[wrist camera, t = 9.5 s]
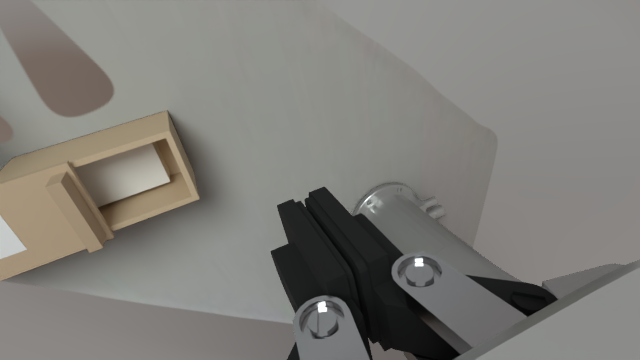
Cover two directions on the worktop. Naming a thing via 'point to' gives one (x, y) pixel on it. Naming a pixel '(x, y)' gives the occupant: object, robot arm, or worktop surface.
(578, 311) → the robot arm
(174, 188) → the box
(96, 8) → the worktop surface
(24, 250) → the lid
